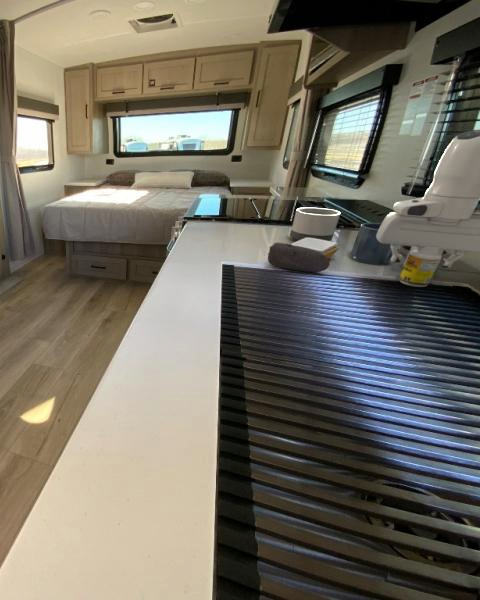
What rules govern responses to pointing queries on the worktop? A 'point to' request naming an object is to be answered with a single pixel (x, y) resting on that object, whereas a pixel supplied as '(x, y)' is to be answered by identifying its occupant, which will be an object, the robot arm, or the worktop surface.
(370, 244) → the blue cylindrical cup
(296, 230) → the planter
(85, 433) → the worktop surface
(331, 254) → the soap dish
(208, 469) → the worktop surface
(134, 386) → the worktop surface
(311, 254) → the perforated stone tool
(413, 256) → the supplement bottle
